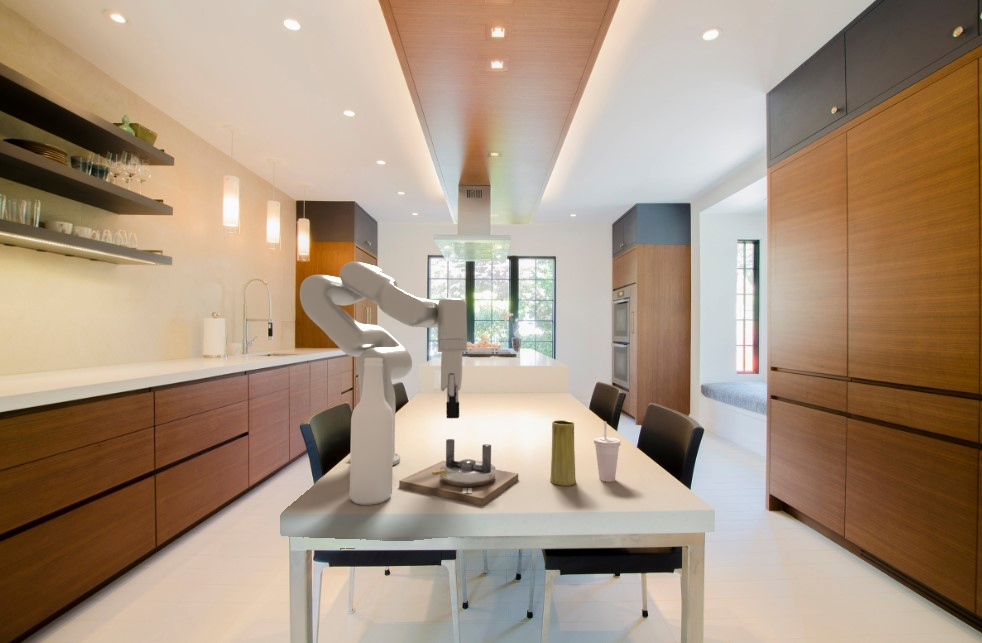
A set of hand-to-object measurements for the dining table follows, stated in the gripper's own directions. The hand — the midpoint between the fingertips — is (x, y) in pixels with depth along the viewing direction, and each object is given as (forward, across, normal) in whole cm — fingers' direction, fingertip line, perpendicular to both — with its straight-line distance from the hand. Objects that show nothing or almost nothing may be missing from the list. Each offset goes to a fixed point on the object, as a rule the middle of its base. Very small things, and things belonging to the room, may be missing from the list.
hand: (452, 417), depth 108 cm
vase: (+15, +7, +27) cm, 31 cm away
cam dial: (+12, +9, +3) cm, 16 cm away
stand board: (+14, +8, +2) cm, 16 cm away
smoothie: (+15, +5, +38) cm, 41 cm away
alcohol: (+14, +16, -17) cm, 27 cm away
